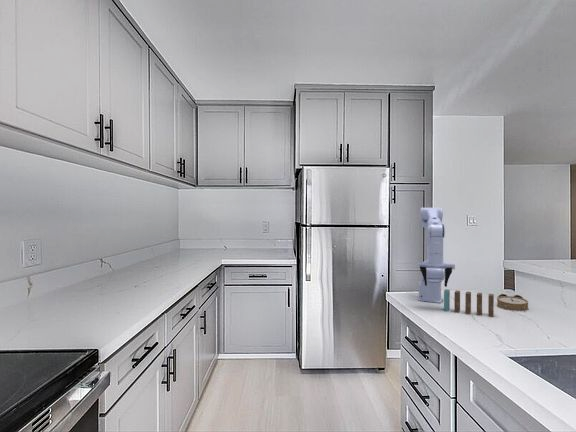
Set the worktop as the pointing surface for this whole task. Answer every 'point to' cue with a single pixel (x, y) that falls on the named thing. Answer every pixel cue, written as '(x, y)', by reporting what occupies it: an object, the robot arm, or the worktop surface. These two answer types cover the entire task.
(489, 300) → the domino
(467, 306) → the domino
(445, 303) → the teal domino
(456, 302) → the domino
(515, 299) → the alarm clock
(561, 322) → the worktop surface
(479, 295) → the domino
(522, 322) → the worktop surface
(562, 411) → the worktop surface
